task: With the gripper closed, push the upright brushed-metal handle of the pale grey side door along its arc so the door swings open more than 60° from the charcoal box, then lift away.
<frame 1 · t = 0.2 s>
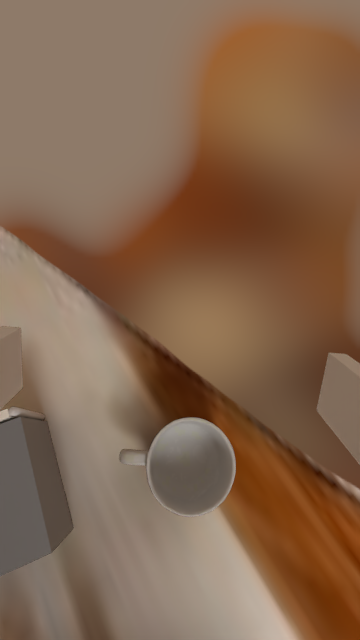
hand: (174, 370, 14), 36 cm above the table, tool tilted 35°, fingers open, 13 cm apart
teacup: (173, 457, 46), on the table
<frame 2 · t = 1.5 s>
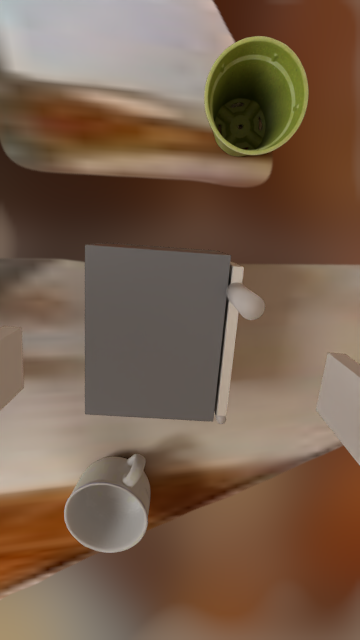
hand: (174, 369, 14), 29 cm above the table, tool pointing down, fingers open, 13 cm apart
door: (227, 345, 35), point 9 cm above the table, hinge at 0.0°
box housing: (158, 316, 43), on the table
plant pot: (238, 128, 38), on the table
teacup: (123, 468, 49), on the table
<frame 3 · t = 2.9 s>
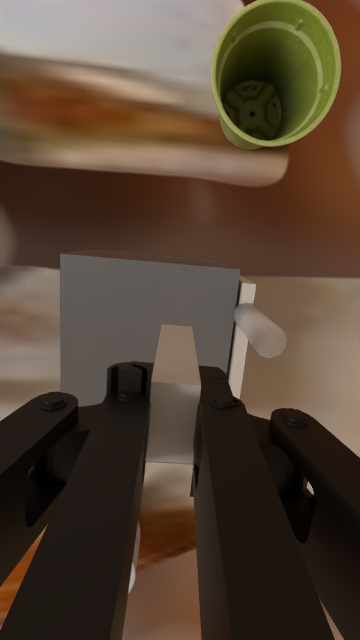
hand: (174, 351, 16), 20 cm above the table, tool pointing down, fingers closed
door: (232, 376, 29), point 9 cm above the table, hinge at 0.0°
box housing: (152, 334, 37), on the table
plant pot: (249, 117, 32), on the table
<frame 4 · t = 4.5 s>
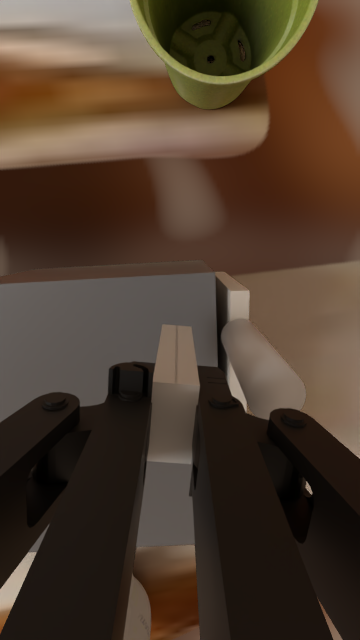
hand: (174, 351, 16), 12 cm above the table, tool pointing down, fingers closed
door: (233, 419, 21), point 9 cm above the table, hinge at 1.6°, touching gripper
box housing: (127, 365, 29), on the table
plant pot: (208, 65, 24), on the table
teacup: (112, 573, 36), on the table
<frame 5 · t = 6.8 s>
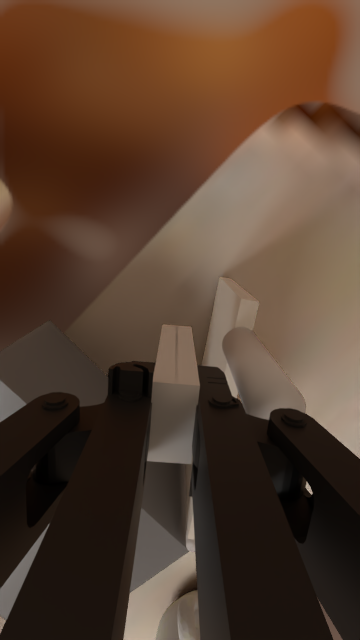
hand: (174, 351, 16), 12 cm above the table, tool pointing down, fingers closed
door: (215, 425, 21), point 9 cm above the table, hinge at 51.6°, touching gripper
box housing: (69, 435, 31), on the table
teacup: (201, 597, 36), on the table
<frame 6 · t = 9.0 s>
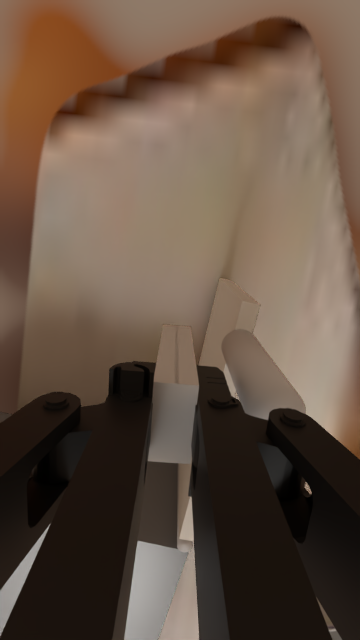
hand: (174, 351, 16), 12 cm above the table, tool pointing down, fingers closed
door: (211, 426, 21), point 9 cm above the table, hinge at 87.1°, touching gripper
box housing: (80, 493, 33), on the table
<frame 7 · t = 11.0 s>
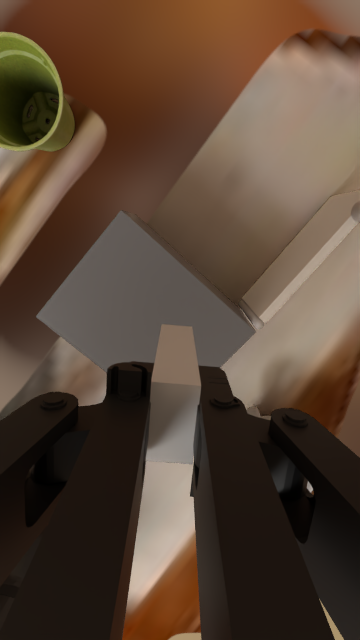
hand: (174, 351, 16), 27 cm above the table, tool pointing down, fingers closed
door: (309, 261, 33), point 9 cm above the table, hinge at 87.1°
box housing: (154, 303, 43), on the table
plant pot: (49, 124, 38), on the table
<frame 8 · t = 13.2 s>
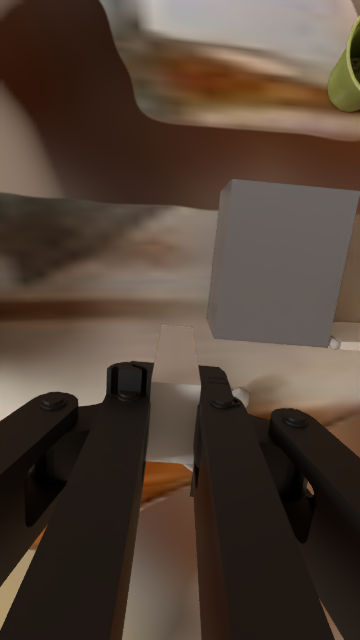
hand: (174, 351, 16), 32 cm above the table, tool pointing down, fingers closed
box housing: (261, 262, 47), on the table
plant pot: (349, 86, 42), on the table
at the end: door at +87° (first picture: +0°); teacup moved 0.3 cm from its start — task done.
